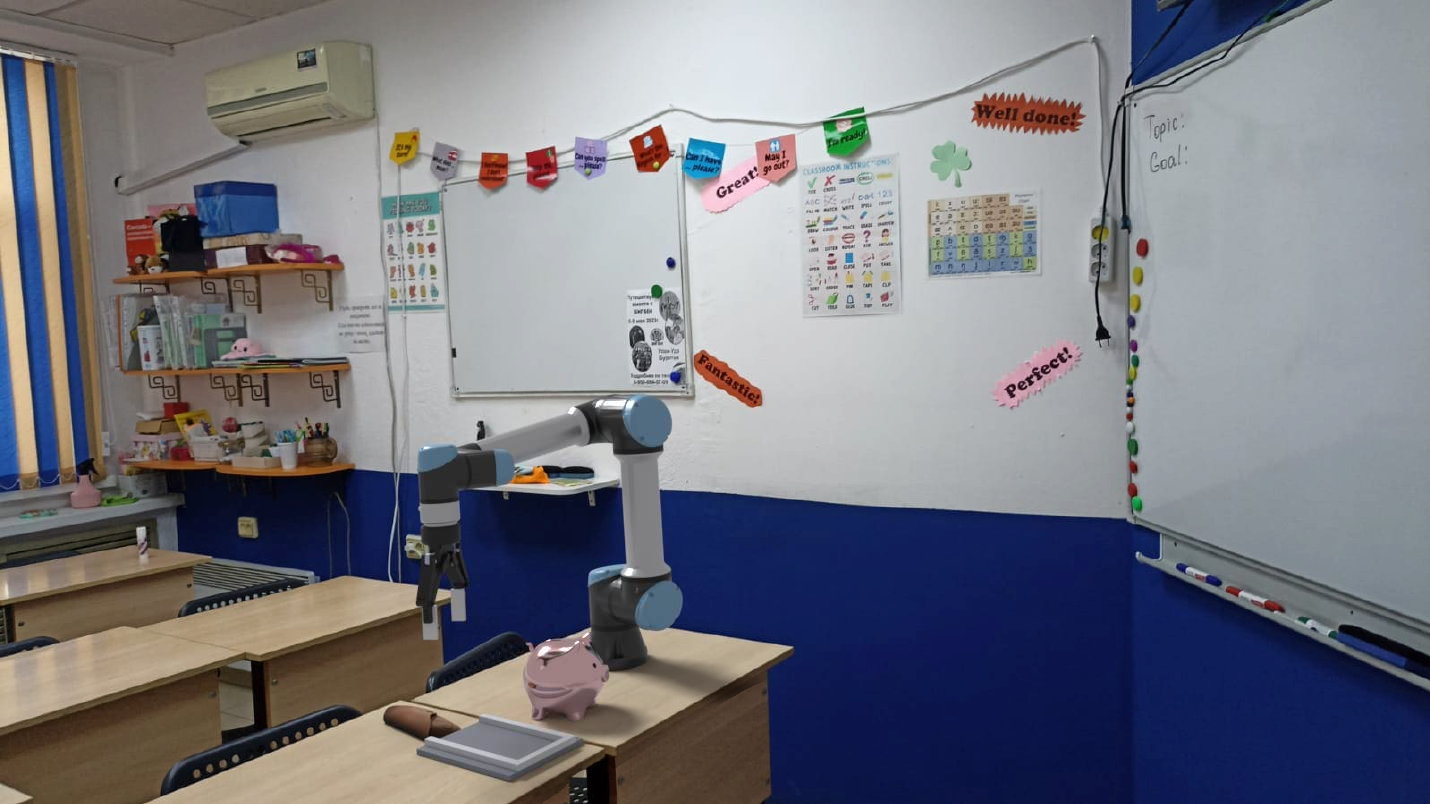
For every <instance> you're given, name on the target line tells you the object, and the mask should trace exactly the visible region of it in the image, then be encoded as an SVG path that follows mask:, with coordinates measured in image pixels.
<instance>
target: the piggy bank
mask: <svg viewBox="0 0 1430 804" xmlns="http://www.w3.org/2000/svg"><path fill="white" fill-rule="evenodd" d="M525 644H526V646H528V648H529V652H530V654H529V656H528V658H527V659H526V662H525V665H524V667H523V668H524V669H523V674H522V675H523V677H522V681H523V686H524V687H523V688H524V690H525V693H526V695H527V696H528V699H529V701H530V703H531V705H532V707H531V708H532V709H531V719H532V720H534V721H541V720H544V719H546V718H547V716H548V713H549V712H550V713H559V714H560V713H561V714H564V715H566V716H567V718H568V719H569V721H571V722H579V721H583V720H584V718H585V714H586V710H587V708H592V707H594V706H596V705H597V697H598V696H599V694H600V693H601V692H602V690H603V688H604V686H605V685H604V684H605V683H608V682H609V679H610V670H609V668H608V666H607V665H606V664H604V663H603V659H602V658H601V657H600V655H599V653H598V652H597V650H596V649H595V647H594V646H593V644H592V642H591V631H588V632H586V633H585V634H583V635H581V636H577V637H573V638H554V639H548V640H546V641H544V642H541V643H539V644H538V645H537V646H536V647H534V646H533V643H532V642H529V643H528V642H527V641H526V642H525Z"/></svg>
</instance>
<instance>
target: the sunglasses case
mask: <svg viewBox="0 0 1430 804" xmlns="http://www.w3.org/2000/svg"><path fill="white" fill-rule="evenodd" d="M382 720H383V722H384V723H385V724H388V725H392V726H395V727H398V728H399V727H400V728H401V729H403V730H406V731H408V732H410V733H412V734H414V735H417V736H418V737H421V738H422V739H424V740H425V739H426V738H428V737H430V736H431V737H435V738H439V739H440V738H443V737H445V736H447V735H449V734H452V733H454V732H456V731H459V730H461V729H462V728H461V727H460V726H459V725H457V724H455V723H454V722H452V721H450V720H449V719H447V718H444V717H442V716H440V715H438V712H435V711H433V710H431V709H427V708H423V707H418V706H413V705H406V704H405V705H403V704H396V705H391V706H388V707H387V708H386V709H385V711H384V712H383V717H382Z"/></svg>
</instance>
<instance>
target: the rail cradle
mask: <svg viewBox="0 0 1430 804" xmlns="http://www.w3.org/2000/svg"><path fill="white" fill-rule="evenodd" d="M583 744H584V738H582V737H579V736H576V735H574V734H570V733H567V732H566V733H565V732H563V731H558V730H554V729H549V728H545V727H541V726H537V725H534V724H529V723H524V722H521V721H518V720H517V721H516V720H513V719H508V718H505V717H499V716H496V715H492V714H489V713H482V714H480V715H478V722H475V723H473V724H470V725H468V726H466V727H464V728H461V730H459V731H456V732H454V733H452V734H449V735H447V736H445V737H443V738H440V739H439V738H435V737H431V736H430V737H428V738H426V739H425V738H424V745H422V746H420V747H418V748H416V755H418V756H422V757H425V758H428V759H432V760H435V761H439V762H442V763H446V764H449V765H453V766H456V767H459V768H462V769H466V770H470V771H473V772H476V773H479V774H483V775H487V776H490V777H493V778H497V779H499V780H503V781H507V782H513V780H516V779H518V778H519V777H522V776H523V775H525V774H527V773H529V772H531V771H533V770H535V769H537V768H539V767H541V766H543V765H545V764H546V763H549V762H551V761H552V760H554V759H556V758H559V757H560V756H562V755H564V754H566V753H568V752H569V751H571V750H573V749H576V748H577V747H579V746H581V745H583Z"/></svg>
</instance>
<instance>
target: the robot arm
mask: <svg viewBox="0 0 1430 804" xmlns="http://www.w3.org/2000/svg"><path fill="white" fill-rule="evenodd" d="M672 429H673V418H672V415H671V411H670V410H669V408H668V405H666V403H665V402H663V400H661V399H660V398H659V397H657V396H654V395H651V394H645V393H628V394H625V393H624V394H617V393H616V394H615V393H614V394H612V393H611V394H607V395H603V396H600V397H597V398H595V399H592V400H589V401H586V402H583V403H580V404H577V405H576V406H571V407H569V408H567V410H566V411H565V413H563V414H561V415H557V416H554V417H550V418H547V419H544V420H541V421H537V422H535V423H532V424H528V425H524V426H520V427H518V428H515V429H512V430H509V431H505V432H502V433H498V434H495V435H492V436H489V437H486V438H482V439H478V440H476V441H473V442H470V443H466V444H463V445H460V446H456V445H455V444H451V443H448V444H447V443H446V444H445V443H442V444H428V445H422V446H421V447H420V448H419V449H418V451H417V467H416V471H417V477H418V478H417V479H418V491H419V506H418V508H417V509H418V511H419V514H420V515H419V516H420V517H419V518H420V523H422V524H421V526H420V540H421V541H420V542H421V544H422V545H425V546H427V547H429V549H428V552H427V553H425V552H424V553H422V554H421V555H420V572H419V576H418V577H419V578H418V584H417V591H416V596H415V597H416V598H415V605H416V607H419V608H420V607H421V615H422V616H421V617H422V618H421V619H422V637H423V641H424V640H426V641H427V640H428V641H437V640H439V639H440V638H439V623H438V621H439V620H438V619H439V618H438V605H437V604H436V600H437V596H438V591H439V587H440V584H441V580H442V576H444V575H445V574H446V576H447V578H448V580H449V582H450V585H451V587H452V588H450V592H449V593H450V610H451V612H450V613H451V622H465V621H466V620H467V615H466V596H465V595H466V593H465V588H466V589H467V588H469V586H470V582H469V581H470V578H469V577H470V576H469V574H468V571H467V567H466V563H465V559H464V556H463V552H462V542H461V540H462V539H461V537H462V536H461V524H460V523H459V522H458V521H460V519H461V510H460V491H466V490H474V489H484V488H485V489H486V488H497V487H500V486H506V485H508V484H511V483H512V481H513V479H514V476H515V474H516V472H515V471H516V470H515V469H516V468H515V466H516V465H518V464H521V463H524V462H527V461H530V460H533V459H536V458H539V457H541V456H542V457H543V456H545V455H548V454H551V453H554V452H558V451H559V450H563V449H567V448H569V447H573V446H577V447H579V448H583V447H586V446H588V445H594V444H612V454H613V456H614V457H615V458H616V459H617V460H618V461H619V463H620V476H621V478H620V479H621V490H622V491H621V493H622V508H623V509H622V510H623V527H624V529H623V530H624V540H625V557H626V558H625V561H626V563H622V564H620V563H619V564H613V565H607V566H602V567H598V568H595V569H593V570H591V571H590V572H589V574H588V580H587V581H588V582H587V588H588V601H589V603H588V604H589V618H590V632H591V642H592V644H593V646H594V647H595V649H596V650H597V652H598V653H599V655H600V657H601V658H602V659H603V663H604V664H606V665H607V666H608V668H609V671H616V670H617V671H619V670H625V669H631V668H634V667H639V666H641V665H643V664H645V663H646V662H647V661H648V659H649V655H648V654H649V653H648V648H647V645H646V644H645V641H644V638H643V634H642V632H641V630H643V631H652V632H660V631H664V630H666V629H668V628H669V627H671V626H672V625H673V624H674V623H675V620H676V619H677V618H678V617H679V616H680V613H681V611H682V608H683V594H682V591H681V588H680V587H678V585H677V584H676V583H675V582H673V580H672V568H671V567H670V565H668V564H667V563H666V562H665V560H664V558H665V557H664V543H663V541H664V540H663V528H662V523H663V522H662V509H661V492H660V475H659V463H658V460H659V458H660V457H661V455H662V454H663V453H664V452H665V451H664V443H666V442H667V440H668V439H669V437H668V436H669V435H671V432H672Z"/></svg>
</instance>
